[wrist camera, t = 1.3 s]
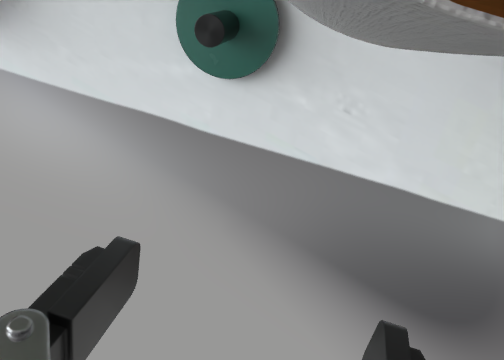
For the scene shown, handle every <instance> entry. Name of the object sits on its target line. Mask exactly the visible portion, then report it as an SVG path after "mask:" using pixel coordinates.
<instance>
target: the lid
mask: <svg viewBox="0 0 504 360" xmlns="http://www.w3.org/2000/svg"><path fill="white" fill-rule="evenodd" d="M176 27H177V33H178V37H179V40H180V43H181V45H182V48H183V49H184V51H185V53H186V54H187V56H188V57H189V59H190V60H191V61H192V62H193V63H194V64H195V65H196V66H197V67H198V68H200V69H201V70H203V71H204V72H206V73H208V74H210V75H212V76H215V77H219V78H224V79H236V78H241V77H244V76H247V75H249V74H251V73H253V72H255V71H256V70H257V69H259V68H260V67H261V66H262V65H263V64H264V63H265V62H266V61H267V60H268V58H269V57H270V55H271V54H272V52H273V50H274V48H275V45H276V42H277V39H278V33H279V15H278V10H277V7H276V4H275V1H274V0H179V3H178V6H177V12H176Z"/></svg>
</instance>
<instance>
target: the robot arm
mask: <svg viewBox="0 0 504 360" xmlns="http://www.w3.org/2000/svg"><path fill="white" fill-rule="evenodd" d="M139 257H140V244H139V243H138V242H135V241H131V240H129V239H125V238H122V237H116V238H115V239H114V240H113V241H112V242H111V243H110V244H109V245H108V246H107V247H106V248H105V249H104V248H101V247H98V246H97V247H95V248H93V249H91V250H89V251H87V252H85V253H83V254H82V255H81V256H80V257H79V258H78V259H77V260H76V261H75V262H74V263H73V264H72V266H70V267H69V268H68V269H67V270H66V271H65V272H64V273H63V275H61V276H60V277H59V278H58V279H57V280H56V281H55V282H54V283H53V284H52V285H51V286H50V287H49V288H48V289H47V290H46V291H45V292H44V293H43V294H42V295H41V296H40V297H39V298H38V299H37V300H36V301H35V302H34V303H33V304H32V305H31V306H30V307H29V308H27V309H19V310H14V311H11V312H9V313H7V314H5V315H3V316H1V317H0V360H85V359H86V358H87V357H88V355H89V354H90V352H91V351H92V350H93V348H94V347H95V346H96V344H97V343H98V341H99V340H100V339H101V337H102V336H103V334H104V333H105V332H106V330H107V329H108V327H109V326H110V324H111V323H112V322H113V320H114V319H115V318H116V316H117V315H118V313H119V312H120V310H121V309H122V308H123V306H124V305H125V303H126V302H127V301H128V299H129V298H130V296H131V295H132V293H133V291H134V289H135V286H136V283H137V279H138V270H139ZM362 360H425V358H424V356H423V354H422V353H421V351H420V350H417V349H414V348H411V347H410V346H409V339H408V332H407V329H406V328H405V327H402V326H399V325H396V324H392V323H390V322H386V321H383V320H381V321H380V322H379V323H378V325H377V327H376V330H375V332H374V334H373V336H372V338H371V340H370V342H369V344H368V346H367V348H366V350H365V353H364V355H363V358H362Z"/></svg>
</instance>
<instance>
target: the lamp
mask: <svg viewBox="0 0 504 360" xmlns="http://www.w3.org/2000/svg"><path fill="white" fill-rule="evenodd" d="M288 1H289V2H290V3H291V4H293V5H294V6H295V7H297V8H298V9H299V10H301V11H302V12H303V13H305V14H306V15H308V16H310V17H311V18H313V19H314V20H316V21H318V22H319V23H321V24H323V25H325V26H327V27H329V28H331V29H333V30H335V31H337V32H340V33H342V34H345V35H347V36H349V37H352V38H355V39H358V40H361V41H365V42H368V43H372V44H376V45H381V46H385V47H391V48H398V49H406V50H417V51H428V52H439V53H451V54H467V55H486V56H504V0H288Z"/></svg>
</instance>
